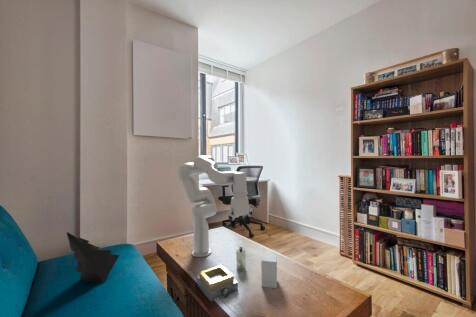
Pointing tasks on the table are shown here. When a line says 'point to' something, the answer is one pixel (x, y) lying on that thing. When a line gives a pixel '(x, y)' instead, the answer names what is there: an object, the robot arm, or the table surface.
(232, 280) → the grey and gold box
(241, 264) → the pale green bottle
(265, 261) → the supplement box
